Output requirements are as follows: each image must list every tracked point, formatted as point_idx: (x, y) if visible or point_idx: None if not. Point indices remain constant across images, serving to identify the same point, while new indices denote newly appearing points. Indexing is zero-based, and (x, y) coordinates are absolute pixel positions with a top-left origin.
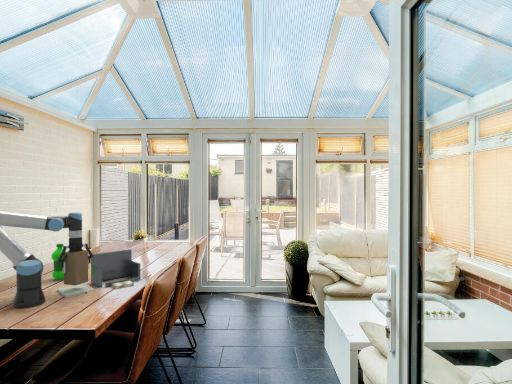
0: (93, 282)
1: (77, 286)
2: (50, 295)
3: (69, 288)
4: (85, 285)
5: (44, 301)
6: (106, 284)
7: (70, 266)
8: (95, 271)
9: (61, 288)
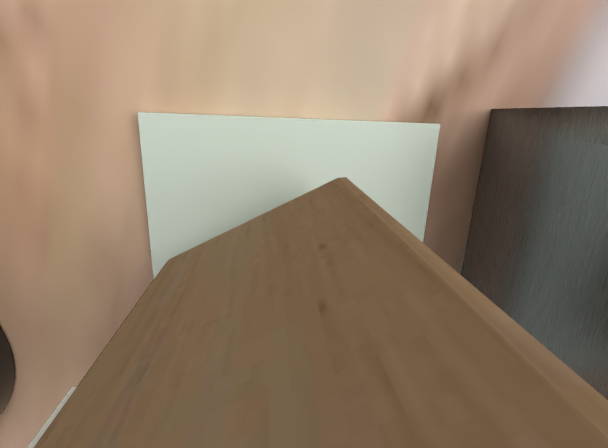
0: (496, 188)
1: (335, 178)
2: (68, 235)
3: (250, 195)
4: (405, 199)
5: (3, 407)
6: None
7: None
8: (593, 319)
9: (183, 129)
